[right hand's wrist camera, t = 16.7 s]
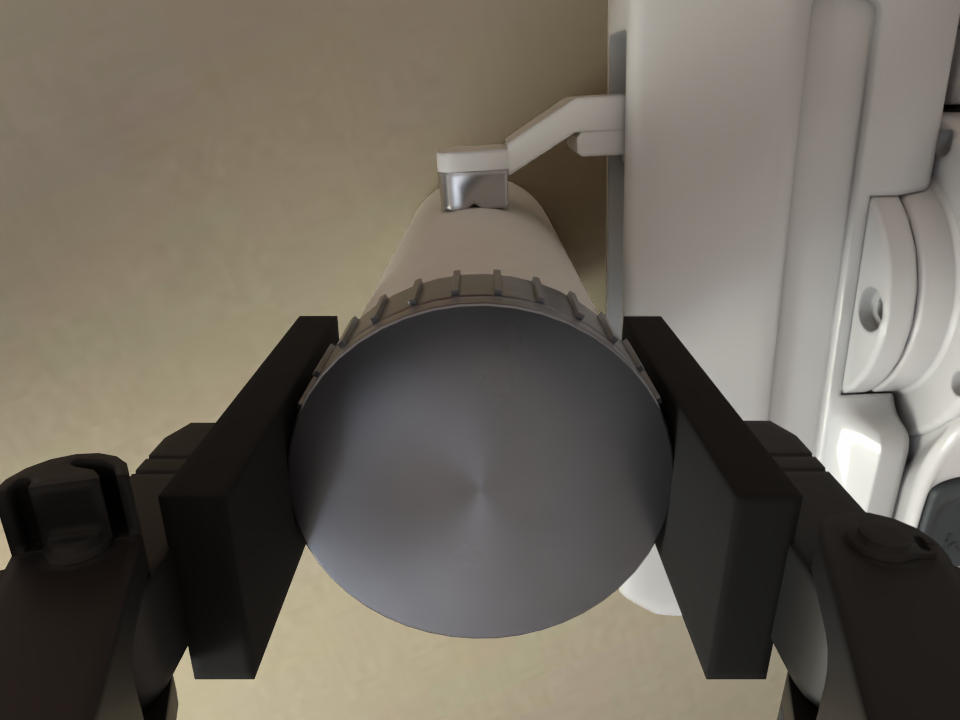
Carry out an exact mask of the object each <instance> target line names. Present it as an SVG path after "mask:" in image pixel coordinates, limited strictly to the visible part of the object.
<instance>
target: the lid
mask: <svg viewBox="0 0 960 720" xmlns="http://www.w3.org/2000/svg"><path fill="white" fill-rule="evenodd" d="M312 375H313V378H312V380H311V381H310V383H309V385H308V387H307V388H306V390H305V392H304V394H303V395H302V397H301V399H300V400H299V402H298V404H297V407H296V409H299V412H298V414H297V417H296V420H295V423H294V426H293V430H292V433H291V436H290V441H289V448H288V455H287V466H288V476H289V485H290V493H291V501H292V509H293V514H294V517H295V520H296V523H297V526H298V528H299V530H300V532H301V534H302V536H303V539H304V541H305V543H306V545H307V546H308V548H309V549H310V551H311V552H312V554H313V555H314V557H315V558H316V560H317V562H318V563H319V564H320V565H321V566H322V568H323V569H324V570H325V571H326V572H327V573H328V575H329V576H330V577H331V578H332V579H333V580H334V581H335V582H336V583H337V584H338V585H339V586H341V587H342V588H343V589H344V590H345V591H346V592H347V593H348V594H350V595H351V596H352V597H354V598H355V599H357V600H358V601H359V602H361V603H362V604H364V605H365V606H367V607H368V608H370V609H372V610H374V611H375V612H377V613H379V614H381V615H383V616H385V617H386V618H389V619H391V620H394V621H396V622H398V623H401V624H403V625H406V626H408V627H412V628H415V629H419V630H422V631H425V632H429V633H434V634H439V635H445V636H450V637H461V638H474V639H475V638H501V637H509V636H517V635H522V634H527V633H531V632H535V631H540V630H543V629H546V628H549V627H552V626H555V625H558V624H561V623H563V622H565V621H568V620H570V619H572V618H574V617H576V616H578V615H580V614H582V613H584V612H586V611H587V610H589V609H591V608H592V607H594V606H596V605H597V604H599V603H600V602H602V601H603V600H605V599H606V598H607V597H608V596H610V595H611V594H612V593H613V592H615V591H616V590H617V589H619V588H620V587H621V586H622V585H623V584H624V583H625V582H626V581H627V580H628V579H629V578H630V577H631V576H632V575H633V574H634V573H635V572H636V570H637V569H638V568H639V566H640V565H641V564H642V562H643V561H644V560H645V558H646V557H647V556H648V554H649V553H650V551H651V549H652V547H653V546H654V544H655V542H656V540H657V539H658V537H659V535H660V532H661V530H662V527H663V525H664V522H665V520H666V517H667V514H668V508H669V501H670V493H671V484H672V476H673V466H674V458H673V447H672V443H671V439H670V434H669V430H668V426H667V423H666V421H665V418H664V416H663V413H662V411H661V408H660V406H659V404H661V403H662V400H661V397H660V396H659V394H658V392H657V391H656V389H655V387H654V385H653V384H652V382H651V380H650V378H649V377H648V375H647V373H646V372H645V369H644V367H643V365H642V363H641V362H640V360H639V358H638V357H637V355H636V353H635V351H634V350H633V348H632V346H631V345H630V343H629V341H628V340H627V339H625V340H623V341H621V340H620V338H619V337H618V336H617V335H616V333H615V332H614V330H613V328H612V326H611V325H610V323H609V321H608V319H607V317H606V316H605V315H604V314H603V313H602V312H601V313H600V314H599V315H597V314H595V313H594V312H592V311H591V310H590V309H588V308H587V307H586V306H584V305H583V304H581V303H580V302H579V301H578V299H577V297H576V294H575V293H573V292H571V291H569V293H568V294H567V295H566V294H564V293H562V292H560V291H558V290H556V289H553V288H550V287H548V286H545V285H542V284H541V282H540V278H538V277H534V276H533V278H532V281H530V280H525V279H521V278H517V277H512V276H503V275H501V270H496V269H494V271H493V274H466V275H461V271H460V270H455V271H454V272H453V276H451V277H444V278H438V279H435V280H431V281H428V282H425V283H423V281H422V279H421V278H420V279H417V280H415V282H414V285H413V287H410V288H408V289H406V290H404V291H401V292H399V293H397V294H394V295H393V296H391V297H389V298H388V297H387V295H386V294H384V295H382V296H381V297H380V298H379V300H378V302H377V304H376V306H375V307H373V308H372V309H371V310H370V311H368V312H367V313H366V314H365V315H364V316H362V317H361V318H360V319H359V320H358V319H357V318H356V317H355V316H354V317H353V318H352V319H351V320H350V322H349V324H348V326H347V327H346V329H345V331H344V333H343V335H342V336H341V338H340V340H339V342H338V343H337V345H336V346H334V345H333V344H330V346H329V347H328V349H327V350H326V352H325V354H324V355H323V357H322V359H321V361H320V362H319V364H318V366H317V367H316V369H315V371H314V372H313V374H312Z"/></svg>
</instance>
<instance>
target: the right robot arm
mask: <svg viewBox="0 0 960 720" xmlns="http://www.w3.org/2000/svg"><path fill="white" fill-rule="evenodd" d="M625 339H627V340H628V341H629V343H630V345H631V346H632V348H633V350H634V351H635V353H636V355H637V357H638V358H639V360H640V362H641V363H642V365H643V367H644V369H645V372H646V373H647V375H648V377H649V378H650V380H651V382H652V384H653V385H654V387H655V389H656V391H657V392H658V394H659V396H660V397H661V400H662V403H661V404H659V406H660V408H661V411H662V413H663V416H664V418H665V421H666V423H667V426H668V430H669V434H670V439H671V443H672V447H673V458H674V466H673V476H672V484H671V493H670V501H669V508H668V514H667V517H666V520H665V522H664V525H663V527H662V530H661V532H660V535H659V537H658V539H657V540H656V542H655V545H656V548H657V551H658V553H659V556H660V559H661V561H662V564H663V566H664V569H665V572H666V574H667V577H668V580H669V582H670V585H671V587H672V590H673V593H674V595H675V598H676V601H677V603H678V606H679V608H680V611H681V614H682V616H683V619H684V622H685V624H686V627H687V629H688V632H689V635H690V637H691V640H692V642H693V645H694V648H695V650H696V653H697V656H698V658H699V661H700V663H701V666H702V669H703V671H704V674H705V677H706V679H766V676H767V671H768V666H769V661H770V656H771V651H772V646H773V643H774V645H775V647H776V649H777V651H778V653H779V655H780V656H781V658H782V660H783V662H784V664H785V666H786V668H787V670H788V673H787V677H786V682H785V687H784V691H783V696H782V700H781V705H780V709H779V714H778V719H777V720H960V567H957V566H954V565H953V563H952V562H951V560H950V558H949V556H948V554H947V553H946V552H945V551H944V550H943V549H942V547H941V546H940V545H939V544H938V543H937V541H935V540H934V539H932V538H931V537H929V536H928V535H926V534H925V533H923V532H922V531H920V530H919V529H917V528H915V527H913V526H910V525H908V524H906V523H903V522H901V521H899V520H896V519H894V518H890V517H886V516H881V515H877V514H873V513H867V512H865V511H864V510H863V509H862V507H861V506H860V505H859V504H858V503H857V502H856V501H855V500H854V499H853V498H852V496H851V495H850V494H849V493H848V492H847V491H846V490H845V489H844V488H843V487H842V485H841V484H840V483H839V482H838V481H837V480H836V479H835V478H834V477H833V475H832V474H831V473H830V472H826V470H825V467H824V466H823V464H822V463H821V462H820V461H819V460H818V459H817V458H816V457H812V452H811V451H810V450H809V449H808V448H807V447H806V446H805V445H804V443H803V442H802V441H801V440H800V439H799V438H798V437H797V436H796V435H794V434H793V433H791V432H789V431H787V430H786V429H784V428H782V427H780V426H779V425H777V424H775V423H773V422H772V421H743V420H742V418H741V417H740V416H739V415H738V413H737V412H736V411H735V409H734V408H733V407H732V406H731V404H730V403H729V402H728V401H727V399H726V398H725V397H724V395H723V394H722V393H721V392H720V390H719V389H718V388H717V387H716V385H715V384H714V383H713V381H712V380H711V379H710V378H709V376H708V375H707V374H706V373H705V371H704V370H703V369H702V368H701V366H700V365H699V364H698V362H697V361H696V360H695V359H694V357H693V356H692V355H691V354H690V352H689V351H688V350H687V348H686V347H685V346H684V345H683V343H682V342H681V341H680V340H679V338H678V337H677V336H676V335H675V333H674V332H673V331H672V329H671V328H670V327H669V326H668V324H667V323H666V322H665V321H664V319H663V318H662V317H661V316H624V317H623V329H622V341H623V340H625ZM338 342H339V332H338V320H337V316H299V318H298V319H297V320H296V322H295V323H294V324H293V325H292V327H291V328H290V329H289V330H288V332H287V333H286V334H285V336H284V337H283V338H282V339H281V341H280V342H279V343H278V344H277V346H276V347H275V348H274V349H273V351H272V352H271V353H270V355H269V356H268V357H267V358H266V360H265V361H264V362H263V363H262V365H261V366H260V367H259V369H258V370H257V371H256V372H255V374H254V375H253V376H252V377H251V379H250V380H249V381H248V383H247V384H246V385H245V386H244V388H243V389H242V390H241V391H240V393H239V394H238V395H237V396H236V398H235V399H234V400H233V402H232V403H231V404H230V405H229V407H228V408H227V409H226V410H225V412H224V413H223V414H222V416H221V417H220V418H219V419H218V421H217V422H216V423H190V424H188V425H187V426H185V427H183V428H181V429H180V430H178V431H176V432H174V433H173V434H171V435H169V436H167V437H166V438H164V439H163V441H162V442H161V443H160V444H159V445H158V446H157V447H156V448H155V449H154V451H153V452H152V453H151V454H150V455H149V459H146V460H145V461H144V462H143V463H142V464H141V465H140V466H139V467H138V468H137V470H136V474H132V475H131V476H129V471H128V467H127V463H125V462H124V461H122V460H121V459H120V458H118V457H117V456H112V455H106V454H101V453H92V454H75V455H70V456H65V457H60V458H55V459H51V460H48V461H45V462H42V463H39V464H37V465H34V466H31V467H28V468H26V469H24V470H22V471H20V472H19V473H17V474H15V475H13V476H11V477H10V478H8V479H6V480H5V481H4V482H3V483H2V484H1V485H0V519H1V522H2V525H3V528H4V532H5V535H6V538H7V541H8V545H9V548H10V551H11V554H12V557H11V559H10V561H9V563H8V565H7V567H6V569H5V570H1V571H0V720H176V717H177V710H178V699H177V692H176V687H175V682H174V677H173V673H174V671H175V669H176V667H177V665H178V663H179V662H180V660H181V658H182V656H183V654H184V652H185V650H186V648H187V646H188V647H189V652H190V657H191V662H192V667H193V672H194V677H195V679H255V676H256V673H257V671H258V668H259V665H260V663H261V660H262V658H263V655H264V652H265V650H266V647H267V644H268V642H269V639H270V637H271V634H272V631H273V629H274V626H275V623H276V621H277V618H278V616H279V613H280V610H281V608H282V605H283V602H284V600H285V597H286V595H287V592H288V589H289V587H290V584H291V581H292V579H293V576H294V574H295V571H296V568H297V566H298V563H299V560H300V558H301V555H302V553H303V550H304V547H305V545H306V543H305V541H304V539H303V536H302V534H301V532H300V530H299V528H298V526H297V523H296V520H295V517H294V514H293V509H292V501H291V493H290V485H289V476H288V466H287V455H288V448H289V441H290V436H291V433H292V430H293V426H294V423H295V420H296V417H297V414H298V412H299V409H296V407H297V404H298V402H299V400H300V399H301V397H302V395H303V394H304V392H305V390H306V388H307V387H308V385H309V383H310V381H311V380H312V378H313V375H312V374H313V372H314V371H315V369H316V367H317V366H318V364H319V362H320V361H321V359H322V357H323V355H324V354H325V352H326V350H327V349H328V347H329V346H330V344H333V345H334V346H336V345H337V343H338Z"/></svg>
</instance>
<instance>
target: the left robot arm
mask: <svg viewBox="0 0 960 720" xmlns="http://www.w3.org/2000/svg"><path fill="white" fill-rule="evenodd" d="M566 138H567V146H568V147H569V148H570V149H571V150H572V151H574V152H576V153H577V154H579V155H580V156H582V157H583V156H605V155H607V190H606V317H607V319H608V321H609V323H610V325H611V326H612V328H613V330H614V332H615V333H616V335H617V336H618V337H619V338H620V340H621V341H622V329H623V317H624V316H661V317H662V318H663V319H664V321H665V322H666V323H667V324H668V326H669V327H670V328H671V329H672V331H673V332H674V333H675V335H676V336H677V337H678V338H679V340H680V341H681V342H682V343H683V345H684V346H685V347H686V348H687V350H688V351H689V352H690V354H691V355H692V356H693V357H694V359H695V360H696V361H697V362H698V364H699V365H700V366H701V368H702V369H703V370H704V371H705V373H706V374H707V375H708V376H709V378H710V379H711V380H712V381H713V383H714V384H715V385H716V387H717V388H718V389H719V390H720V392H721V393H722V394H723V395H724V397H725V398H726V399H727V401H728V402H729V403H730V404H731V406H732V407H733V408H734V409H735V411H736V412H737V413H738V415H739V416H740V417H741V418H742V420H743V421H772V422H773V423H775V424H777V425H779V426H780V427H782V428H784V429H786V430H787V431H789V432H791V433H793V434H794V435H796V436H797V437H798V438H799V439H800V440H801V441H802V442H803V443H804V445H805V446H806V447H807V448H808V449H809V450H810V451H811V452H812V457H816V458H817V459H818V460H819V461H820V462H821V463H822V464H823V466H824V467H825V470H826V472H830V473H831V474H832V475H833V477H834V478H835V479H836V480H837V481H838V482H839V483H840V484H841V485H842V487H843V488H844V489H845V490H846V491H847V492H848V493H849V494H850V495H851V496H852V498H853V499H854V500H855V501H856V502H857V503H858V504H859V505H860V506H861V507H862V509H863V510H864V511H865V512H867V513H873V514H877V515H881V516H886V517H890V518H894V519H896V520H899V521H901V522H903V523H906V524H908V525H910V526H913V527H915V528H917V529H919V530H920V531H922V532H923V533H925V534H926V535H928V536H929V537H931V538H932V539H934V540H935V541H937V543H938V544H939V545H940V546H941V547H942V549H943V550H944V551H945V552H946V553H947V554H948V556H949V558H950V560H951V562H952V563H953V565H954V566H957V567H960V0H608V64H607V94H600V95H586V96H572V97H565V98H563V99H562V100H560V101H559V102H557V103H556V104H554V105H553V106H551V107H550V108H549V109H547V110H546V111H544V112H543V113H541V114H540V115H538V116H537V117H536V118H534V119H533V120H531V121H530V122H528V123H527V124H525V125H524V126H522V127H521V128H520V129H518V130H517V131H515V132H514V133H512V134H511V135H509V136H508V137H506V138H505V144H489V145H473V146H457V147H449V148H442V149H438V151H437V152H436V153H437V169H438V179H439V190H440V200H441V209H442V210H446V211H458V210H464V209H468V208H469V207H470V206H472V205H473V204H476V205H477V206H479V207H481V208H488V209H493V208H508V207H509V203H508V174H509V175H511V174H513V173H514V172H516V171H517V170H519V169H520V168H522V167H523V166H525V165H526V164H528V163H529V162H531V161H532V160H534V159H535V158H537V157H538V156H540V155H542V154H543V153H545V152H546V151H548V150H549V149H551V148H552V147H554V146H555V145H557V144H558V143H560V142H561V141H563V140H564V139H566ZM619 591H620V593H621V594H622V595H623V596H625V597H626V598H628V599H629V600H631V601H632V602H634V603H636V604H637V605H639V606H641V607H643V608H645V609H647V610H648V611H650V612H653V613H656V614H660V615H671V616H682V614H681V611H680V608H679V606H678V603H677V601H676V598H675V595H674V593H673V590H672V587H671V585H670V582H669V580H668V577H667V574H666V572H665V569H664V566H663V564H662V561H661V559H660V556H659V553H658V551H657V548H656V545H655V544H654V546H653V547H652V549H651V551H650V553H649V554H648V556H647V557H646V558H645V560H644V561H643V562H642V564H641V565H640V566H639V568H638V569H637V570H636V572H635V573H634V574H633V575H632V576H631V577H630V578H629V579H628V580H627V581H626V582H625V583H624V584H623V585H622V586H621V587H620V588H619Z"/></svg>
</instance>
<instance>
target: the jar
mask: <svg viewBox="0 0 960 720" xmlns="http://www.w3.org/2000/svg"><path fill="white" fill-rule="evenodd" d="M508 203H509V207H508V208H493V209H488V208H481V207H479V206H477V205H476V204H473V205H472V206H470V207H469V208H468V209H464V210H458V211H446V210H442V209H441V200H440V190H439V188H438V189H437V190H435V191H434V192H433V193H431V194H430V195H429V196H428V197H427V198H426V199H425V200H424V201H423V203H422V204H421V205H420V206H419V208H418V209H417V211H416V212H415V214H414V216H413V218H412V220H411V222H410V224H409V226H408V228H407V229H406V231H405V233H404V235H403V237H402V239H401V241H400V243H399V245H398V247H397V249H396V251H395V253H394V254H393V256H392V258H391V260H390V262H389V264H388V266H387V268H386V270H385V272H384V274H383V276H382V278H381V279H380V281H379V283H378V285H377V287H376V289H375V291H374V293H373V295H372V297H371V299H370V301H369V302H368V304H367V306H366V308H365V310H364V312H363V314H362V316H364V315H365V314H366V313H367V312H368V311H370V310H371V309H372V308H373V307H375V306H376V304H377V302H378V300H379V298H380V297H381V296H382V295H384V294H386V295H387V297H388V298H389V297H391V296H393V295H394V294H397V293H399V292H401V291H404V290H406V289H408V288H410V287H413V285H414V282H415V280H417V279H420V278H421V279H422V281H423V283H425V282H428V281H431V280H435V279H438V278H444V277H451V276H453V272H454V271H455V270H460V271H461V275H466V274H493V271H494V269H496V270H501V275H503V276H512V277H517V278H521V279H525V280H530V281H532V278H533V276H534V277H538V278H540V282H541V284H542V285H545V286H548V287H550V288H553V289H556V290H558V291H560V292H562V293H564V294H566V295H567V294H568V293H569V291H571V292H573V293H575V294H576V297H577V299H578V301H579V302H580V303H581V304H583V305H584V306H586V307H587V308H588V309H590V310H591V311H592V312H594V313H595V314H597V315H599V314H598V312H597V311H596V309H595V307H594V305H593V303H592V301H591V299H590V297H589V295H588V293H587V291H586V289H585V288H584V286H583V284H582V282H581V280H580V278H579V276H578V274H577V272H576V270H575V268H574V266H573V265H572V263H571V261H570V259H569V257H568V255H567V253H566V251H565V249H564V247H563V245H562V243H561V242H560V240H559V238H558V236H557V234H556V232H555V230H554V228H553V226H552V224H551V222H550V220H549V219H548V217H547V215H546V213H545V212H544V210H543V208H542V207H541V206H540V204H539V203H538V202H537V201H536V199H535V198H534V197H532V196H531V195H530V194H529V193H528V192H527V191H525V190H524V189H523V188H521V187H520V186H518V185H516V184H514V183H512V182H510V181H508ZM362 316H361V317H362Z"/></svg>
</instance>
